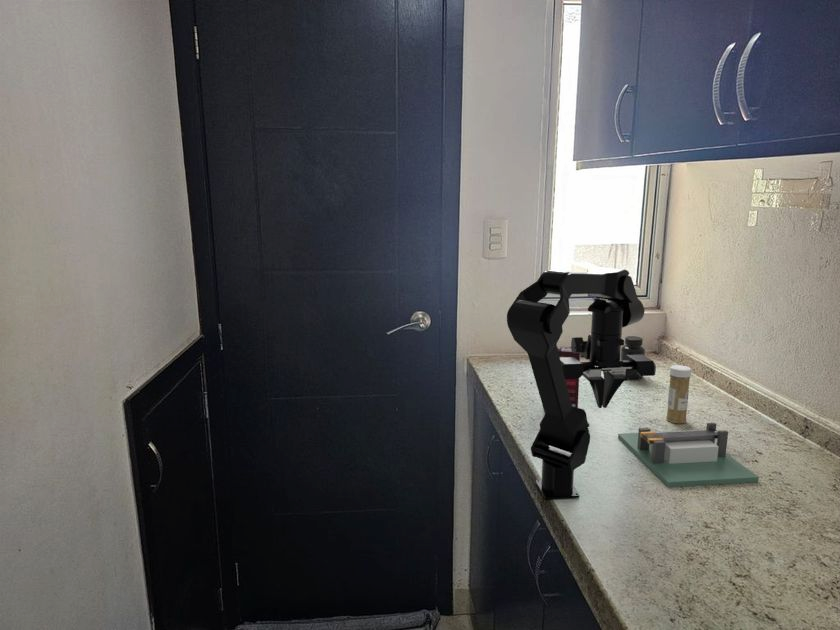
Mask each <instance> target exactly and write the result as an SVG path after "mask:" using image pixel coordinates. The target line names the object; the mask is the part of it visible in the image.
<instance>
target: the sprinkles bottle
mask: <svg viewBox="0 0 840 630" xmlns="http://www.w3.org/2000/svg"><path fill="white" fill-rule="evenodd" d="M669 375H670V376H669V377H670V378H669V386H668V395H667V396H668V397H667V411H666V412H667V415H666V420H667V421H669V422H670V423H673V424H684V423H686V422H687V412H688V405H689V404H688V403H689V394H690V393H689V392H690V391H689V389H690V378H691V376H692V368H691V367H689V366H686V365H682V364H681V365H680V364H673V365H671V366H670V369H669Z"/></svg>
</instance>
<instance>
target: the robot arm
mask: <svg viewBox="0 0 840 630" xmlns="http://www.w3.org/2000/svg"><path fill="white" fill-rule="evenodd" d="M548 294H552V295H557V296H558V295H559V300H558V302H557V303H556V305H555V304H551V303H546V302H540V301H541V300H543V299H544V298H545V297H547V295H548ZM572 295H588V296H592V297H595V299H594V300H593V302H592V303H591V304H589V306H588V308H587V311H588V312H591V327H590V328H591V329H590V333H588V336H587V340H584V337H581V336H579V337H578V336H577V337H572V338H571V344H570V347H571V351H572V353H580V358H582V359H583V358H584V359H585V360H588V361H580V362H579V361H578V360H577V359H576V358H574V357H562V358H560V357H559V353H558V349H557V347H558V342H559V340H560V337H561V336H562V334H563V326H564V323H565V322H566V320H567V319H568V317H569V315H570V313H571V312H570V311H571V310H570V309H571V308H570V298H571V296H572ZM644 316H645V307H644V305H643V303H642V301H641V300H640V299H639V297H638V294H637V292H636V287H635V285H634V281H633V278H632V277H631V275H630V272H629V270H627V269H622V268H613V267H611V268H610V267H601V266H596V267H595V266H594V267H591V268H589V269H587V271H586V272H582V271H580V272H577V271H576V272H575V271H564V270H555V269H548V270H544V271H543V272H542V273H541V274H540V276H539V278H538V279H537V281H535V282H533V283H532V284H530V285H529V286H528V287H526V288H525V289H523V290H522V291H520V292H519V293H518V295H517V296H516V298H515V300H514V301H513V302H512V304H511V305H510V307H509V308H508V311H507V313H506V324H507V327H508V328H507V329H508V331H510V334H511V336H512V337H513V338H512V339H513V340H514V341H515V342H516V343H517V344H518V345H519V346H520V347H521V349H523V350H524V351H525V352H526V354H527V356H528V359H529V362H530V363H529V364H530V367H531V370H532V373H533V376H534V381H535V383H536V387H537V391H538V394H539V398H540V401H541V404H542V408H543V411H544V415H543V417H542V419H541V420H540V423H539V430H538V432H537V434H536V436H535V437H534V438H535V439H534V440H533V441H532V445H531V447H530V452H531V456H532V458H536V459H540V460H542V463H541V479H536V480H535V484H536V486H537V488H538V489H539V491H540V493H541V495H542V496H543V498H544V499H545V500H558V499H559V500H560V499H574V498H575V499H576V498H580V493H579V491H578V490H577V489H576V488H575V486H574V475H575V474H574V472H575V470H576V469H577V468H579V467H581V466H582V465H583V464H585V463H586V459H587V455H588V451H589V446H590V442H591V434H590V430H589V427H591V425H590V423H589V421H588V417H587V412H586V411H585V409H583V408H580V407H578V408H577V407H573V406H572V404H571V400H570V396H569V392H568V388H567V385H566V381H565V379H579V380H580V378H582V376H583V378H585V379H586V380H587V381H588V382H589V384H590V386H591V389H592V392H593V395H594V398H595V402H596V406H597V407H598V408H599V409H601V408H604V409H606V408H607V407H608V406H609V404H610V402H611V401H612V398H613V397H614V395H615V394H616V392H617V391H618V390H619V388H620V387H621V386H622V384H623V383H624V382H625V381H628V380H629V379H628V377H627V376H625V372H626V370H637V371H636V372H637V373H638V374H639V375H640V376H643V377H650V376H655V375H656V373H657V372H656V370H657V366H656V363H655V361H654V360H652V358H649V357H648V356H646V355H645V356H644V355H626V357H625V358H624V361H622V360H621V359H620V356H621V348H622V346H624V345H625V339H622V338H623V337H622V334H623V328H626V327H628V326H631V325H633V324H637V323H639V322H640V321H641V320H642V319H643V318H644ZM602 372H603V373H602ZM602 374H603V376H602ZM558 449H559V450H558Z"/></svg>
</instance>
